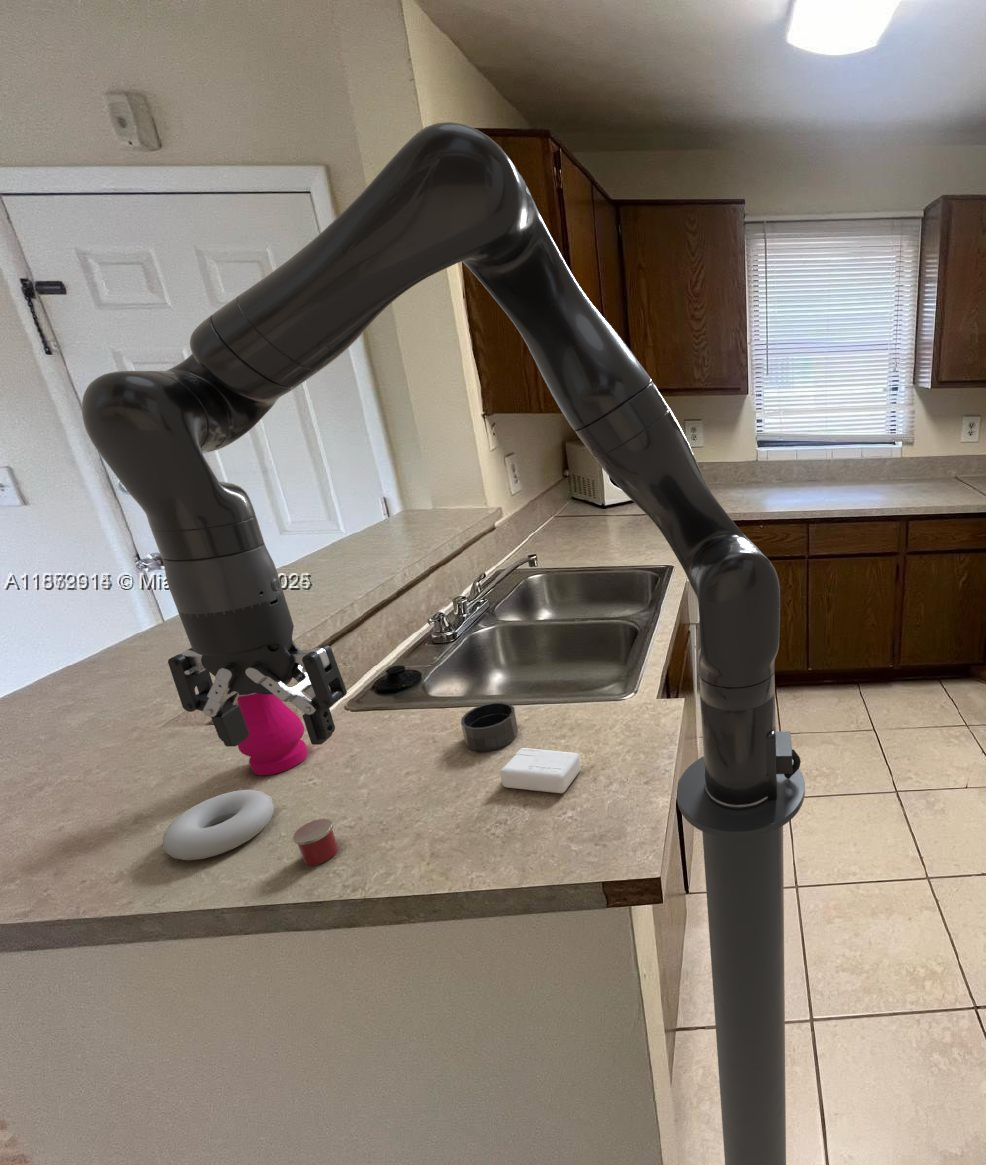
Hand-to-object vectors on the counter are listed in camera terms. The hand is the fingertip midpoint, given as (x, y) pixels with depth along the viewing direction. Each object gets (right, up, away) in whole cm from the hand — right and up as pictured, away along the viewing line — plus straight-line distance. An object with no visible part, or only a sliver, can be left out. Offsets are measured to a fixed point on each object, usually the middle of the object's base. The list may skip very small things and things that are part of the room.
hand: (281, 741), depth 61 cm
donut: (-15, -14, +10) cm, 23 cm away
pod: (-1, -15, +7) cm, 16 cm away
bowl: (+8, -7, +28) cm, 30 cm away
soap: (+20, -10, +19) cm, 29 cm away
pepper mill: (-19, -9, +23) cm, 32 cm away
